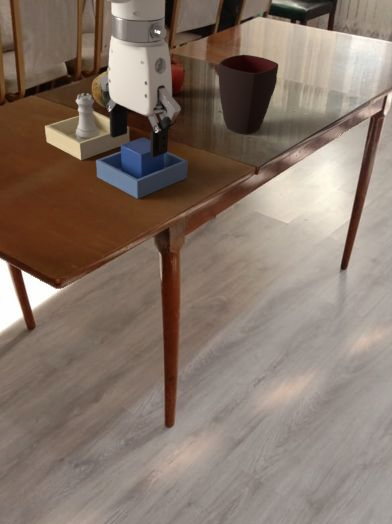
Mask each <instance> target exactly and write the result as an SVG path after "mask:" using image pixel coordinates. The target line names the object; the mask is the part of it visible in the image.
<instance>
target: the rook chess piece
mask: <svg viewBox="0 0 392 524" xmlns="http://www.w3.org/2000/svg"><path fill="white" fill-rule="evenodd" d="M75 103H76V104H77V105H78V108H77V111H78V116H79V125H78V127H77V129H76V133H75V134H76V135H77V136H76V140H78V141H80V142H82V141H85V140H88V139H91V138H94V137H96V136H99V130H98V129H97V128H96V127H97V126H96V125H95V123H94V118H93V111H95V109H94V108H93V105H94V103H95V99H94V98H93V94H90V93H87V92H86V95H85V93H84V92H83V93H81V94H80V93H78V94H77V96H76V99H75Z"/></svg>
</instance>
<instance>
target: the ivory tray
mask: <svg viewBox="0 0 392 524" xmlns="http://www.w3.org/2000/svg"><path fill="white" fill-rule="evenodd" d="M93 118H94V123H95V125H96V126H97V127H96V128H97V129H98V130H99V136H96V137H94V138H91V139H88V140H85V141H82V142H80V141H78V140H76V136H77V135H76V134H75V133H76V129H77V127H78V125H79V115H76V116H72V117H70V118H66V119H64V120H60V121H57V122H54V123H50V124H47V125H44V131H45V132H44V133H45V139H46V143H47V144H50V145H51V146H53V147H55V148H57V149H59V150H61V151H63V152H65V153H67V154H69V155H70V156H72V157H74V158H76V159H78V160H80V161H83V160H86V159H89V158H92V157H94V156H97V155H101V154H103V153H106V152H108V151H111V150H113V149H114V150H115V149H117V148H119V147H120V148H121V145H123V144H126V143H128V142H131V140H130V127H129V126H128V125H127V133H126V134H124V135H121V136H118V137H114V138H113V137H111V136H110V117H109V116H106V115H104V114H101V113H100V112H97V111H95V110H93Z"/></svg>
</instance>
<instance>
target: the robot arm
mask: <svg viewBox="0 0 392 524" xmlns="http://www.w3.org/2000/svg"><path fill="white" fill-rule="evenodd" d="M105 1H107V2H109V3H111V37H110V42H109V49H108V50H109V51H108V52H109V53H108V66H107V68H108V74H107V75H104V76H102V77H100V79H99V80H100V84H101V87H102V90H103V91H104V92H103V96H104V98H105V100H106V102H107V108H106V110H107V111H108V113H109V118H110V136H111V137H113V138H114V137H118V136H121V135H124V134H126V133H127V126H128V110H130V111H133V112H135V113H137V114H140V115H142V116H144V117H147V118H148V121H149V122H150V125H151V127H152V129H153V130H151V131H150V139H149V140H150V154H151V156H153V157H156V156H159V155H162V154H165V153H167V152H169V151H168V150H169V149H168V148H169V130H171V129H172V127H173V126H174V124H176V122H177V119H178V117H179V116H180V113H181V109H182V108H181V106H180V105H179V103H178V102H177V101H176V100H175V98H174V97H173V95H172V76H171V63H170V52H169V49H168V45H169V43H168V42H166V41H165V38H166V36H167V29H166V28H165V26H166V25H165V23H166V21H165V20H166V19H165V18H166V14H165V13H166V0H105ZM127 109H128V110H127ZM157 116H159V119H160V121H159V120H158V117H157Z"/></svg>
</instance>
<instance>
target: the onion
mask: <svg viewBox="0 0 392 524" xmlns="http://www.w3.org/2000/svg"><path fill="white" fill-rule="evenodd" d="M106 68H107V69H106V71H103V72H102V73H101V74H99V75H98V76H97V77H95V78H94V79H93V80H92V84H91V95H92V98H93V100H94V102H96V103H97V104H98V105H99V106H100V107H102V108H105V109H107V102H106V100H105V98H104V96H103V92H104V91H103V90H102V87H101V84H100V80H99V79H100V77H102V76H104V75H107V74H108V67H106Z"/></svg>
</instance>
